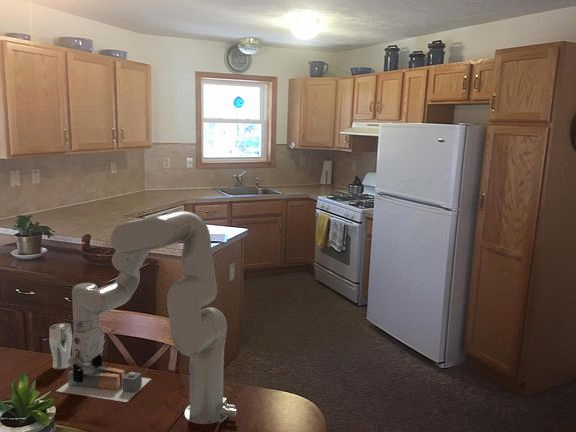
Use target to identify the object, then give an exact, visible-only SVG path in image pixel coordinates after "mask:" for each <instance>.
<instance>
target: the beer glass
mask: <svg viewBox="0 0 576 432" xmlns="http://www.w3.org/2000/svg"><path fill="white" fill-rule="evenodd" d="M71 326H72V324H70V323H68V322H67V323H66V322H65V323H64V322H60V323H56V324H55V323H54V324H53V325H50V327H49V332H48V333H49V338H48V339H49V341H48V342H49V347H50V351H51V356H52V368H53V369H54V370H64V369H68V368H70V366H69V364H68V360H69V359H70V357H71V354H72V339H73V332H72V327H71Z"/></svg>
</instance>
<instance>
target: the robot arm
mask: <svg viewBox="0 0 576 432" xmlns="http://www.w3.org/2000/svg"><path fill="white" fill-rule="evenodd" d="M207 225H208V224H207V223H206V221H204V219H202V217H200V216H199V215H197V214H195V213H193V212H191V211H190V212H189V211H173V212H170V213H165V214H162V215H157V216H153V217H148V218H139V219H134V220H130V221H125V222H121V223H119V224H118V225H116V226H115V227H114V228H113V231H112V232H111V235H110V243H111V246H112V247H113V249H114V250H115V252H114V253H113V255H112V256H111V257H112V258H111V263H112V266H113V267H114V269H116V270H117V271H119V275H118V276H117V277H116V279H115V280H114V282H112V283H109V284H107V285H104V286H101V287H98V285H97V284H96V283H92V282H82V283H78V284H76V285H74V286H73V287H72V290H71V296H72V298H71V299H72V323H73V325H72V326H73V332H72V346H71V355H70V359H69V360H68V364H69V366H70V367H69V368H70V369H71V370H73V381H74V382H81V383H82V382H83V370H81V369H82V367H83V364H84V363H90V362H91V364H92V365H96V366H101V367H103V356H104V355H103V353H104V352H103V351H104V348H105V347H104V345H105V341H106V340H105V339H104V337H103V332H102V330H103V329H102V325H101V323H100V315H103V314H105V313H108V312H110V311H112V310H114V309H117V308H118V307H121V306H123V305H125V304H126V303H127V302H129V301H130V299H131V298H132V296H133V295H134V294H135V292H136V290H137V288H138V286H139V284H140V281H141V280H140V278H141V272H140V269H141V267H142V266H143V264H144V263H145V260H146V259H147V258H148V255H149V254H150V252H151V251H153V250H158V249H163V248H166V247H170V246H173V245H176V244H179V243H183V246H182V251H181V266H182V272H183V274H182V275H183V276H182V278H180V279H178V280H176V281H174V283H173V284H172V285H170V287H169V288H168V291H167V295H166V306H167V313H168V318H169V319H168V320H169V325H170V333H171V338H172V341H173V344H174V346H175V348H176V350H177V351H178V352H179V353H180V354H182V355H183V356H186V357H189V405H188V406H187V407H186V408H185V410H184V411H183V412H184V417H185V418H186V419H187V421H190V422H191V423H194V424H201V425H206V424H207V425H208V424H209V425H210V424H213V423H214V424H215V423H217V422H218V423H217V425H220V424H222V423H223V422H224V421H226V420H227V418H228V417H229V416H232V417H236V416H237V413H238V410H237V409H236V404H229V403H228V402H227V397H224V365H225V364H224V363H225V362H224V360H225V346H226V338H227V331H228V323H227V319H226V316H225V315H224V313H223V312H222V311H221V310H219V309H218V308H215V307H206V306H207V305H210V304H211V303H212V302H213V301H214V300H215V299H216V298H217V294H218V286H217V285H218V284H217V278H216V271H215V265H214V258H213V254H212V253H213V252H212V241H211V233H210V230H209V228H208V226H207ZM205 307H206V308H205ZM78 363H79V364H78Z"/></svg>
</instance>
